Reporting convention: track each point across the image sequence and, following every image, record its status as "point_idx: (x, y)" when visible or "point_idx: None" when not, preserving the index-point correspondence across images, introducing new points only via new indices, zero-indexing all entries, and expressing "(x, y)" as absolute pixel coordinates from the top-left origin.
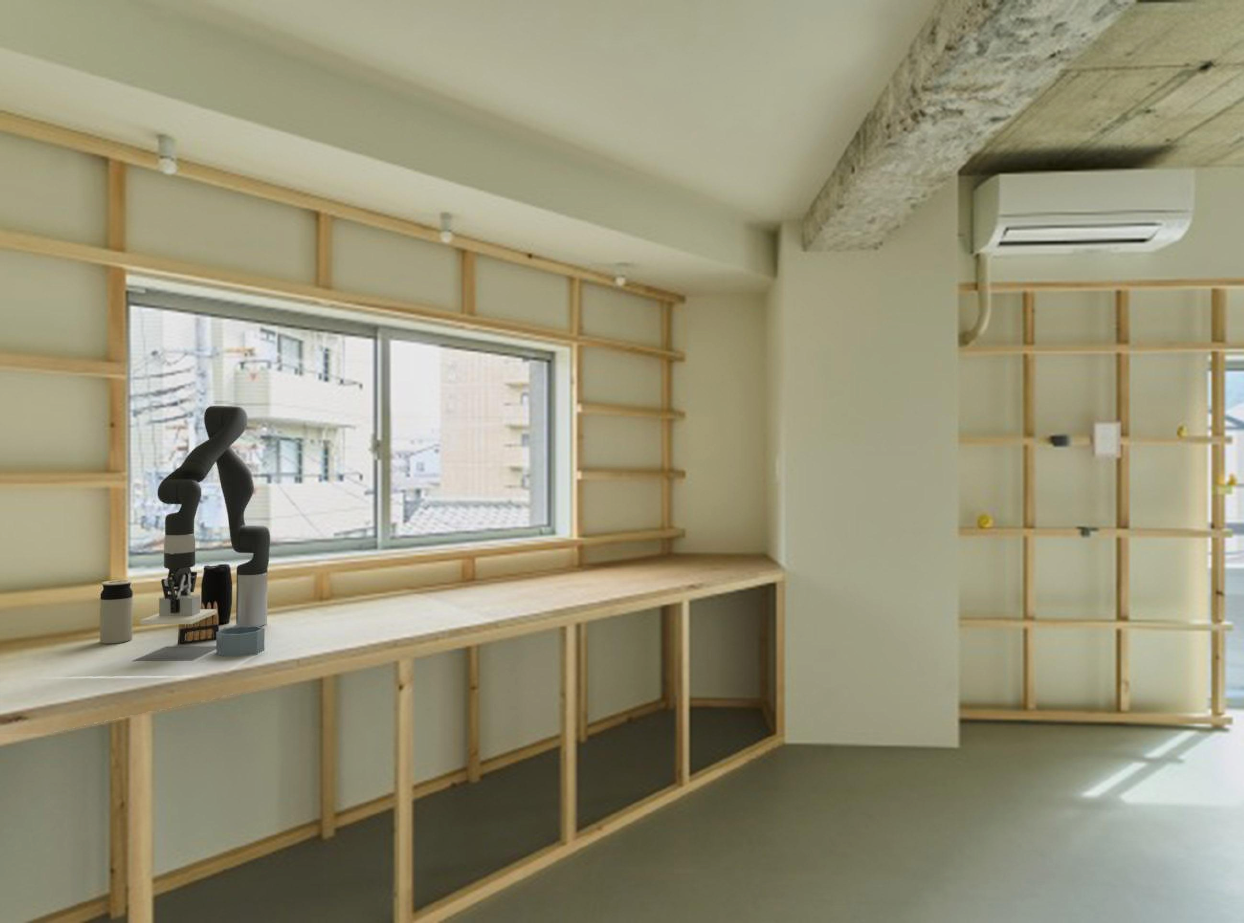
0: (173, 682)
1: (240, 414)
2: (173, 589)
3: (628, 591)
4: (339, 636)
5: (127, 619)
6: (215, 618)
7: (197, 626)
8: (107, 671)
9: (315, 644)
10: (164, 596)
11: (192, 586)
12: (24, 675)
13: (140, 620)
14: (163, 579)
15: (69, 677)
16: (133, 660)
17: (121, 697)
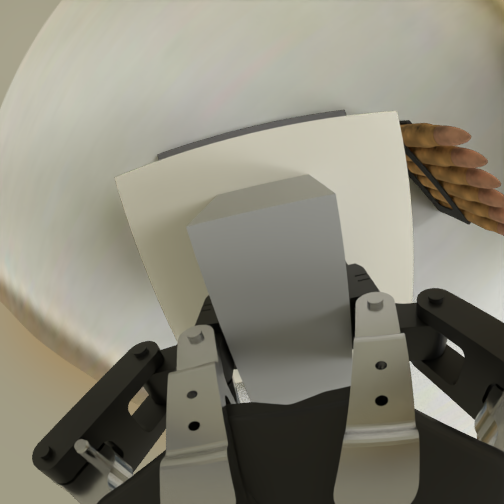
0: (100, 362)
1: None
2: (140, 442)
3: None
4: (436, 405)
5: None
6: (478, 224)
7: (436, 178)
8: (85, 175)
9: None
10: (124, 355)
11: (434, 380)
12: (43, 44)
13: (116, 178)
14: (44, 471)
15: (41, 143)
16: (162, 156)
17: (36, 335)
